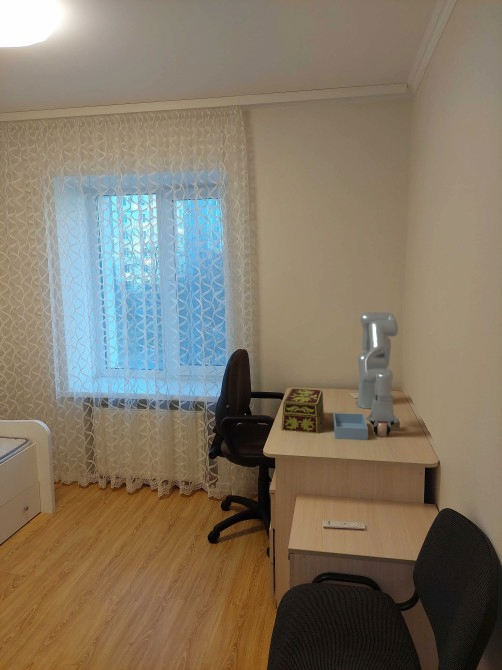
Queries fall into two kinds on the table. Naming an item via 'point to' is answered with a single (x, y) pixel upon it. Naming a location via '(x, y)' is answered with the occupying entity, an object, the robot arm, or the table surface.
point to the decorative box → (303, 411)
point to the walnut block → (395, 426)
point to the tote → (350, 426)
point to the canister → (382, 428)
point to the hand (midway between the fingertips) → (381, 433)
